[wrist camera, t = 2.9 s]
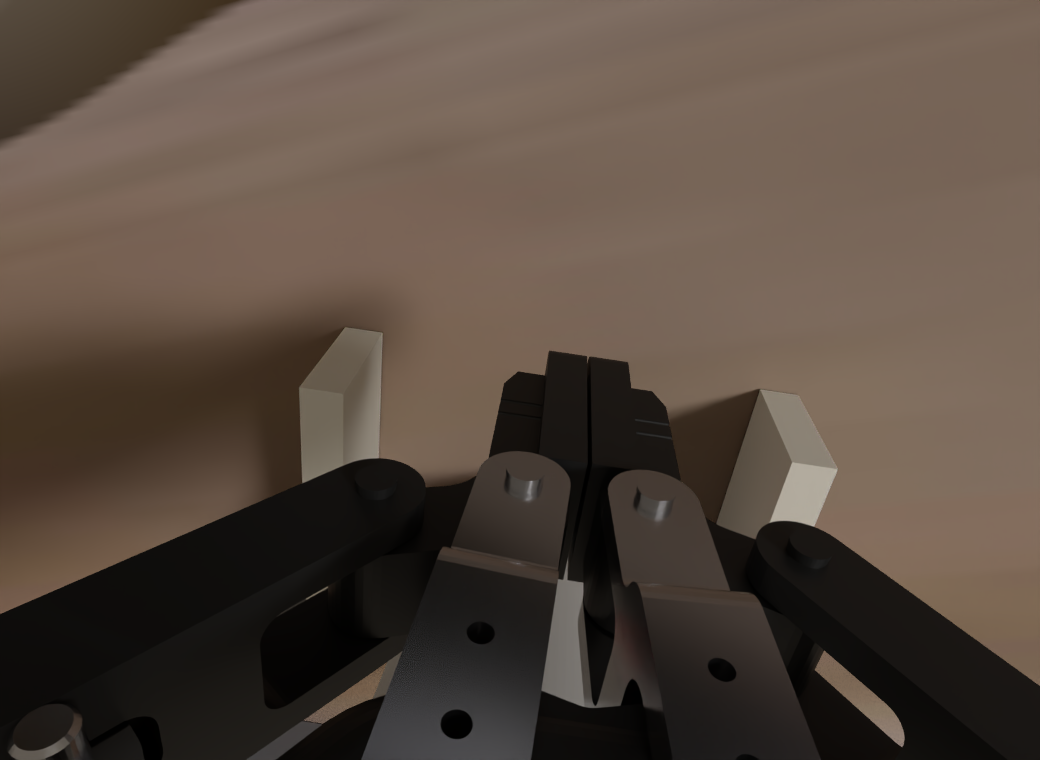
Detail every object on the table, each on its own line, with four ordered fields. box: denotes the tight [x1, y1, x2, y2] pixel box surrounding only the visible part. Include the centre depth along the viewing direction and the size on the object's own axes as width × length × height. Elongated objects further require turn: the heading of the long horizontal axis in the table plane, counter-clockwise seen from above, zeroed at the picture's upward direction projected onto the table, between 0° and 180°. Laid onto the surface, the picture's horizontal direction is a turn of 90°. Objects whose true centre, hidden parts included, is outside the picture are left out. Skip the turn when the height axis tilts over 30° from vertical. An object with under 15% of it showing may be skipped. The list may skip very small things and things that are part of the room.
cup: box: [373, 560, 584, 707], centre depth 21 cm, size 8×8×10 cm
